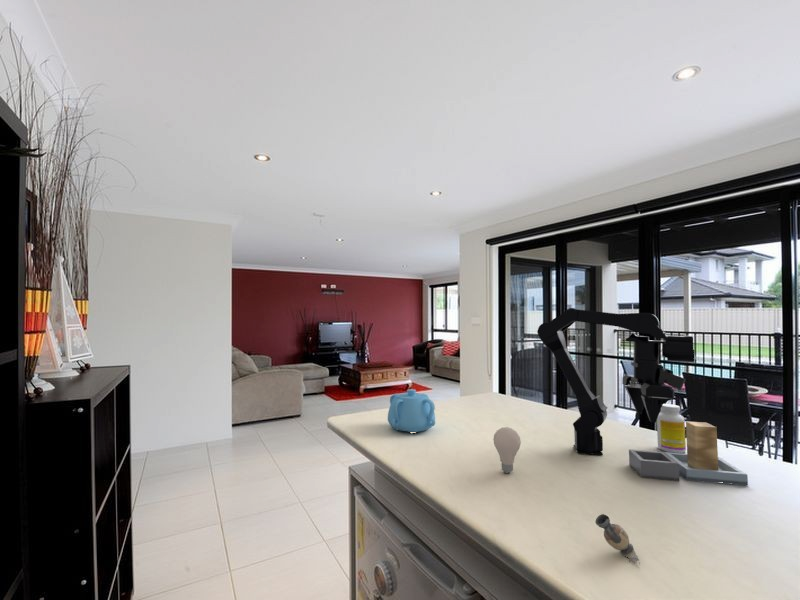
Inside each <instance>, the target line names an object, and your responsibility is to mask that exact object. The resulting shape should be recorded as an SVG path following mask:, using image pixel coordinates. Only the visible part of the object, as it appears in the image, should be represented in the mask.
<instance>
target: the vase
mask: <svg viewBox="0 0 800 600" xmlns="http://www.w3.org/2000/svg"><path fill="white" fill-rule="evenodd" d="M595 524H596V525H597V526H598V528H601V529H603V536H604V539H605V541H606V543H607V544H608V545H609V546H610V547H612V548H613V549H615V550H617V551H620V554H621V555H622V554H623V555H622V556H623V557H625V556H626V557H625V558H627V557H628V558H629V559H628V558H627V559H628V562H629V563H631V561H632V562H633V564H636V563H638V564H639V565H641V561H640V559H639V557H638V555H637V554H636V551H635V548H634V545H633V544H632V543H630V538H629V534H628V533H627V531H626V530H625V529H624V528H623V527H622V526H621V525H620V524H617V523H611V520H610V517H609V516H608V515H606V514H605V513H604V514H603V513H601V514H600V515H598V516H597V517H596V518H595ZM630 559H632V560H630Z"/></svg>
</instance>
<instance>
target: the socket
mask: <svg viewBox="0 0 800 600" xmlns="http://www.w3.org/2000/svg"><path fill="white" fill-rule="evenodd" d="M664 452H665V451H655V450H654V451H652V450H640V449H628V460H629V462H628V463H629V464H628V465H629V467H630V468H631V469H633V471H634V472H635V473H636V474H637V475H638V476H639V477H640V478H642V479H644V478H645V479H651V478H652V479H653V480H654V479H655V480H663V481H673V482H674V481H675V482H680V474H679V463H677V462H676V461H675V460H673V459H672V458H671V457H670V456H668V455H667V454H666V453H664Z"/></svg>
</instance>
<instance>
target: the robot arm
mask: <svg viewBox="0 0 800 600" xmlns="http://www.w3.org/2000/svg"><path fill="white" fill-rule="evenodd" d="M576 322H579V323H587V324H595V325H603V326H611V327H618V328H622V329H624V330H627V331H631V332H632V333H631V334H630V335H629V336H628V337H627V338H625V342H628V343H629V342H630V343H632V342H633V361H631V362H630V365H631V366H632V367H633V374H625V375H623V376H622V385H623V388H624V389H625V390H626V393H627V394H628V396H629V398H630V400H631V403H632V405H633V407H634V410H635V411H636V413H637V414H638V415H640V414H641V415H642V414H643V410H644V408H645V411H646V414H647V417H648V419H649V420H648V421H650V423H653V424H655V423H656V424H657V418H658V415H659V413H661V407H662V405H663V404H666V402H669V401H671V400H672V399H675V390H674V389H673V388H675V389H677V390H680V391H682V388H683V386H684V384H685V382H686V378H684V377H682V376H679V375H676V374H674V371H673V370H671V369H668V368H666V367H664V365H663V364H660V344H661V358H665V359H666V360H667V362H674V363H675V362H677V363H689V364H690V363H691V364H694V363H695V348H694V336H692V335H683V336H680V335H677V336H676V335H667V334H666V333H667V332H666V331H664V330H663V329H662V327H660V321H659V319H658V317H657V316H656V315H655V314H653V313H649V312H632V313H631V312H629V313H613V312H606V311H605V312H604V311H594V310H588V309H587V310H586V309H578V308H573V307H569V308H567V309H566V310H565V311H564V312H563V313H561V314H560V315H558V316H556V317H555V318H553V319H552V320H550V321H549V322H542V323H541V324H540V325H539V326H538V328H537V330H536V331H537V337H539V339H540V340H541V342H542V343H543V344H544V346H546V347H547V349H548V350H550V351H551V353H552V354H553V356H554V358H555V360H556V362H557V363H558V365H559V367H560V369H561V371H562V373H563V375H564V376H565V379H566V381H567V383H568V384H569V387H570V388H571V390H572V393H573V394H574V395H575V399H576V403H577V408H578V411H579V414H580V415H579V417H577V419H576V420H575V421H574V422H573V423H572V426H573V429H574V444H573V445H572V446H573V448H574V449H575V451H576V453H577V454H583V455H596V456H603V450H604V447H603V446H604V443H603V435H602V434H601V431H600V429H599V427H600V426H602V424H604V422H605V421H606V420H607V417H608V412H607V409H608V406H607V405H606V404H605V403H604V402H603V399H602V396H601V394H599V395H597V396H596V395H594V393H593V392H592V391H591V390H590V388H589V387H588V384H587V382H586V381H585V378H584V377H583V376H582V374H581V372H580V370H579V368H578V366H577V365H576V363H575V361H574V358H573V357H572V354H571V353H570V352H569V349H568V347H567V344H566V338H565V335H564V332H565V331H566V330H567V329H569V328H570V327H571V326H572V325H573V324H574V323H576ZM635 333H638V334H642V335H637V334H635ZM644 335H645V336H644ZM647 335H651V336H652V337H653V338H654V339H658V340H650V336H647Z"/></svg>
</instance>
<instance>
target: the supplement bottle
mask: <svg viewBox="0 0 800 600" xmlns="http://www.w3.org/2000/svg"><path fill="white" fill-rule="evenodd" d="M680 411H681V407H680V405H676V404H672V403H664V404H663V405H662V407H661V410H660V412H659V415H658V418H657V420H656V429H657V435H656V436H657V448H658V449H660V450H661V451H662V452H668V453H681V454H685V452H687V441H686V421H685V417H684V416H683V415H681V414H680Z"/></svg>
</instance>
